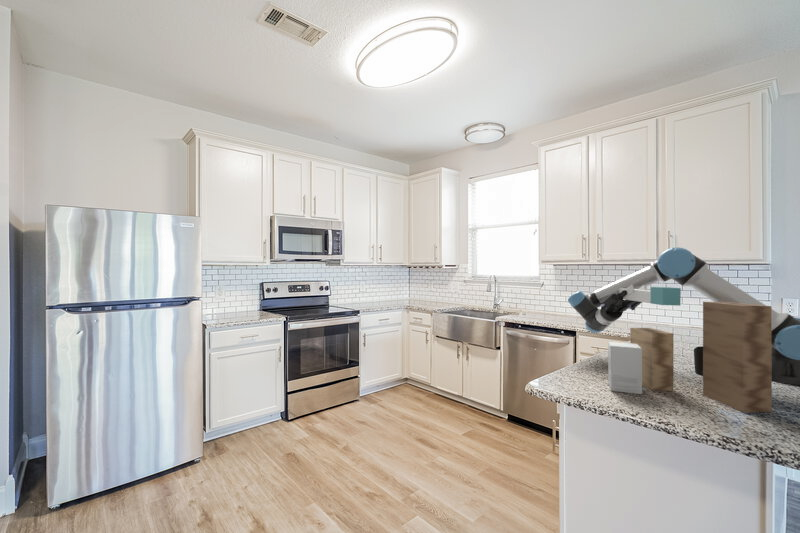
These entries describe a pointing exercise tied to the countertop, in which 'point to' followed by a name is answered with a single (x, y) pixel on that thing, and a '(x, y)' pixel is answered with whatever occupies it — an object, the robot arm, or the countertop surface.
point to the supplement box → (625, 367)
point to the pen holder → (698, 360)
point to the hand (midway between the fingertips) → (639, 288)
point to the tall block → (738, 355)
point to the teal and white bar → (657, 295)
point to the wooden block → (655, 357)
